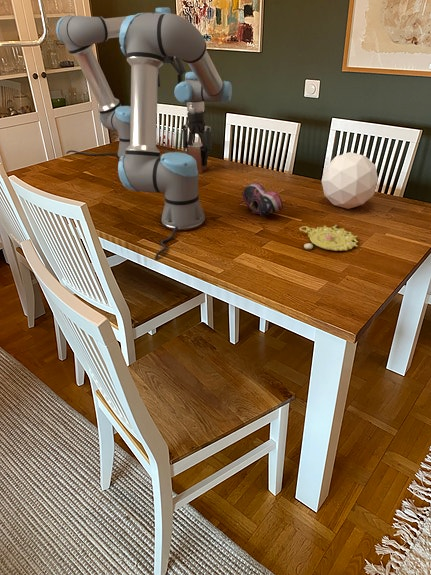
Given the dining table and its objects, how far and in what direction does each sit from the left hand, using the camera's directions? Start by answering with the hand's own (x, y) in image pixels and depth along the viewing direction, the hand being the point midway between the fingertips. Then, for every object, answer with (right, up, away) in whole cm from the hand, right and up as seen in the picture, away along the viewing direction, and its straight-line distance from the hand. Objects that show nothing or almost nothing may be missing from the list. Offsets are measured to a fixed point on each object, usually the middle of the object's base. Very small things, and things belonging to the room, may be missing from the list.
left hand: (169, 87), depth 239 cm
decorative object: (+61, -93, -98) cm, 148 cm away
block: (+17, -54, -34) cm, 66 cm away
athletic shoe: (+41, -80, -77) cm, 118 cm away
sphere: (+74, -78, -75) cm, 131 cm away
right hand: (+17, -52, -36) cm, 65 cm away
